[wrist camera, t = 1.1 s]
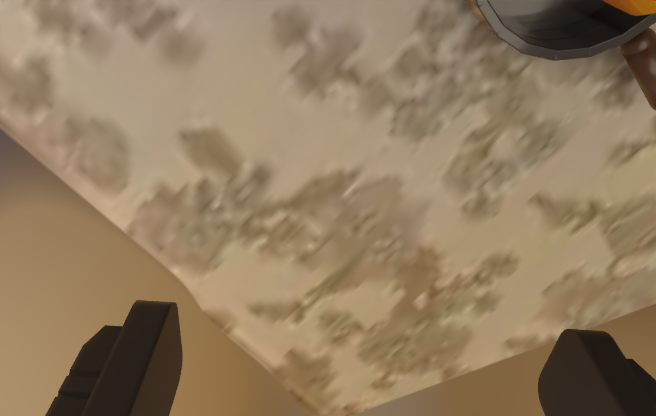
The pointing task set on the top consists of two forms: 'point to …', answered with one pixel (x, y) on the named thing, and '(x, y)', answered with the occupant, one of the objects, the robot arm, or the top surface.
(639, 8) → the carrot
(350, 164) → the top surface
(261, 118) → the top surface
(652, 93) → the pan handle
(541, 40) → the pan
